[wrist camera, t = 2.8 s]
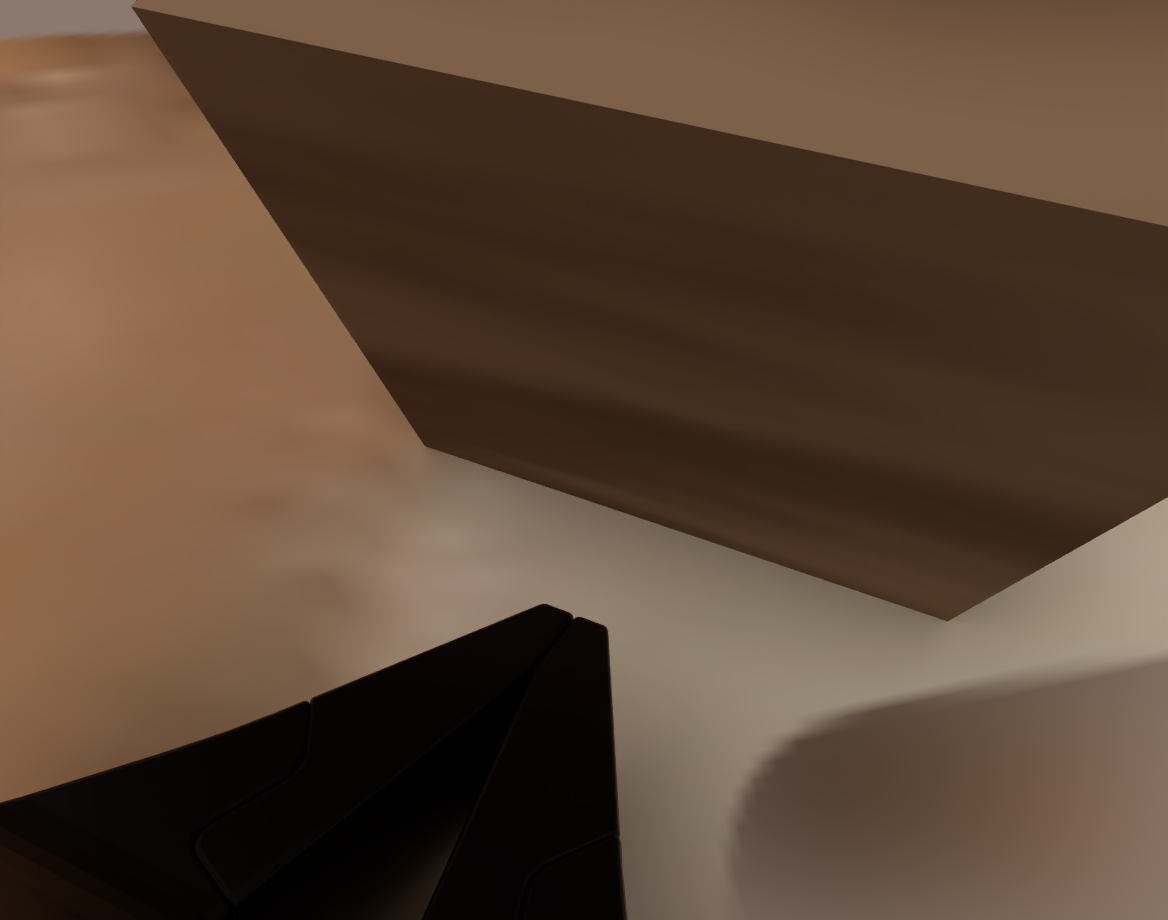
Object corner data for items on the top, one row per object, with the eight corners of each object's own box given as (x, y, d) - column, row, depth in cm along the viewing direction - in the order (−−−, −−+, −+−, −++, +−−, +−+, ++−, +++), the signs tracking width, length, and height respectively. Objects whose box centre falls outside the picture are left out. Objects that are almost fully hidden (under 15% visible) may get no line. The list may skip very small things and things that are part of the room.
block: (946, 621, 15) (1516, 300, 5) (425, 446, 18) (132, 6, 8) (982, 451, 17) (1485, -61, 7) (493, 312, 19) (317, -209, 9)
